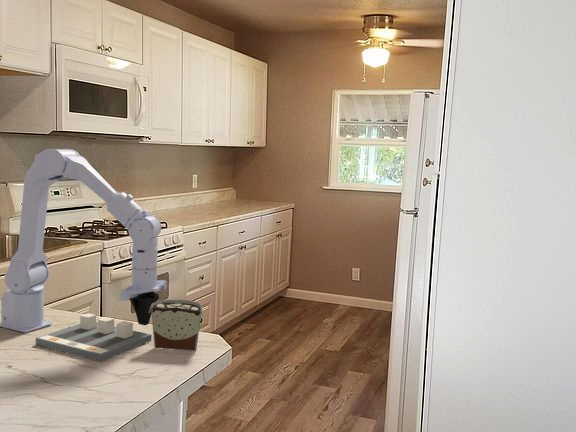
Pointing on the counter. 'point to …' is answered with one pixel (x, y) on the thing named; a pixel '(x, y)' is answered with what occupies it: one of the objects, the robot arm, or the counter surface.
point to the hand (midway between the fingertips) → (143, 324)
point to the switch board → (91, 342)
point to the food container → (176, 324)
